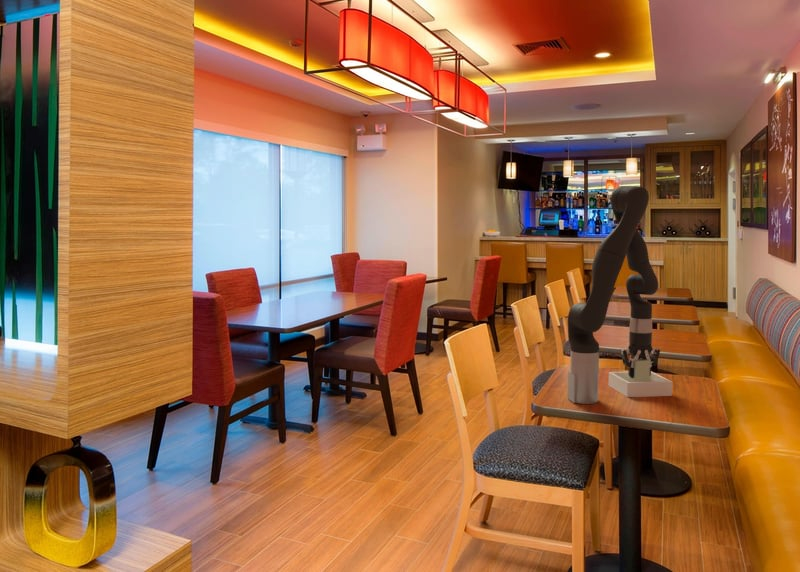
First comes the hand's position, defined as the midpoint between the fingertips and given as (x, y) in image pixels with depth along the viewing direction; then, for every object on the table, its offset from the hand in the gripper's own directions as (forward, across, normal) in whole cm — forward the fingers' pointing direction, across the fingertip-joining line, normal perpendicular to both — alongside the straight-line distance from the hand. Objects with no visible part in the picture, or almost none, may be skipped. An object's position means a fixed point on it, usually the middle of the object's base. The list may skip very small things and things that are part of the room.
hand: (639, 377), depth 220 cm
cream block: (+1, 0, 0) cm, 1 cm away
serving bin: (+5, 0, 0) cm, 5 cm away
